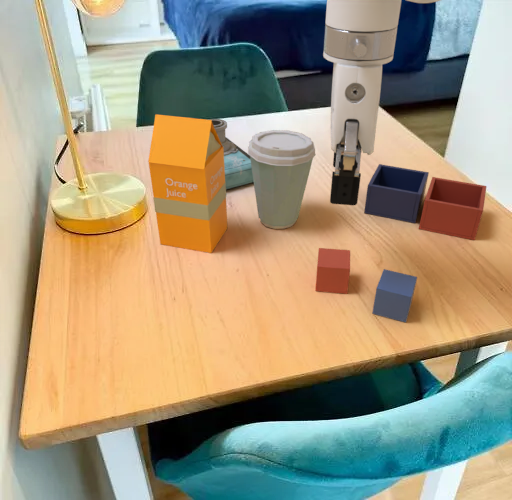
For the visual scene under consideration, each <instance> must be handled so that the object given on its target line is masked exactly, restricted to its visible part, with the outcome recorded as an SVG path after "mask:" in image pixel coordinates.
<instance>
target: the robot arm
mask: <svg viewBox="0 0 512 500" xmlns="http://www.w3.org/2000/svg"><path fill="white" fill-rule="evenodd" d="M406 2H411V3H416V4H432V3H436V2H437V3H438V2H441V0H406ZM401 7H402V0H326V9H325V10H326V11H325V24H324V25H325V26H324V37H323V38H324V39H323V53H322V56H323V59H325V60H327V62H331V63H333V65H332V66H333V68H332V81H331V97H330V150H331V151H332V152H333V159H332V160H333V161H332V167H334V171H332V174H331V175H332V177H331V184H330V186H331V187H330V197H329V203H330V204H332V205H343V206H345V205H346V206H356V205H357V204H358V201H359V192H360V184H361V175H362V174H361V173H360V172H361V171H360V169H361V157H362V153H363V154H366V155H367V156H371V155H372V154H373V153H374V152H375V142H376V133H377V124H378V115H379V114H378V113H379V107H380V98H381V92H382V91H381V89H382V80H383V79H382V78H383V65H386V64H388V63H390V62H392V61H393V59H394V54H395V53H394V52H395V49H396V48H395V47H396V41H397V34H398V25H399V19H400V13H401Z"/></svg>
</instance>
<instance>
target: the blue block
mask: <svg viewBox="0 0 512 500" xmlns="http://www.w3.org/2000/svg"><path fill="white" fill-rule="evenodd" d="M417 280H418V277H417V276H415V275H411V274H406V273H403V272H399V271H395V270H389V269H386V268H384V269H383V270H382V273H381V275H380V278H379V279H378V283H377V285H376V289H375V295H374V299H373V300H374V301H373V306H372V307H373V308H372V315H376V316H379V317H384V318H387V319H391V320H394V321H397V322H401V323H407V321H408V318H409V314H410V310H411V306H412V303H413V298H414V294H415V289H416V285H417Z"/></svg>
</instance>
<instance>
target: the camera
mask: <svg viewBox="0 0 512 500" xmlns="http://www.w3.org/2000/svg"><path fill="white" fill-rule="evenodd" d="M208 120H212V124H213V126H214V128H215V130H216V133H217V135H218V137H219V140H220V142H221V144H222V147H223V149H224V169H225V182H226V190H229V189H233V188H237V187H241V186H244V185H248V184H252V183H254V181H253V174H252V167H251V160H250V155H248V152H246V151H245V150H244V149H242V148H241V147H240V146H239V145H237V144H235V142H233V141H232V140H230V139H229V138H228V137H226V129H227V128H228V122H227V121H226V120H224V119H221V118H210V119H208Z"/></svg>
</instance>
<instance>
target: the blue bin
mask: <svg viewBox="0 0 512 500" xmlns="http://www.w3.org/2000/svg"><path fill="white" fill-rule="evenodd" d="M428 178H429V171H423V170H418V169H411V168H405V167H399V166H393V165H387V164H382V163H380V164H378V165H377V167H376V168H375V171H374V173H373V174H372V176H371V178H370V180H369V182H368V184H367V189H366V195H365V205H364V212H363V214H366V215H372V216H377V217H381V218H385V219H386V218H387V219H391V220H395V221H401V222H406V223H411V224H416V223H417V219H418V216H419V214H420V211H421V209H422V208H421V207H422V205H423V203H424V199H425V193H426V188H427V184H428Z"/></svg>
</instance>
